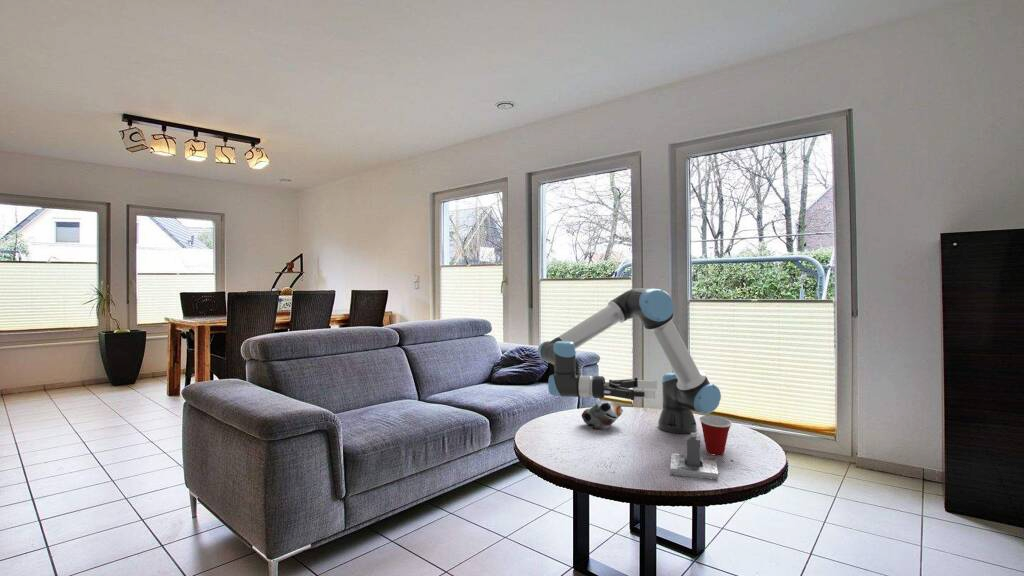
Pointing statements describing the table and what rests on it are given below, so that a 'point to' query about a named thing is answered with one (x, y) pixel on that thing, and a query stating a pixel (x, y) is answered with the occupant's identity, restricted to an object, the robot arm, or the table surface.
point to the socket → (694, 467)
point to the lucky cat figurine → (602, 415)
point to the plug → (693, 450)
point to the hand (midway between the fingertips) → (656, 389)
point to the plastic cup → (715, 433)
